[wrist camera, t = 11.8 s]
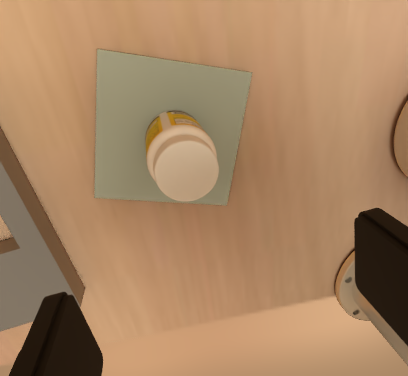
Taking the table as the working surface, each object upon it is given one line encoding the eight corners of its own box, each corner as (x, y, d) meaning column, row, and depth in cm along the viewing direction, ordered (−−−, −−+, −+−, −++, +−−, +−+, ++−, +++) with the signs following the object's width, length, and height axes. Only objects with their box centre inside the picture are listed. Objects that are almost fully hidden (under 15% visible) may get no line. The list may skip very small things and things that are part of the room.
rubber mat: (250, 72, 26) (252, 72, 26) (225, 203, 31) (226, 205, 30) (97, 48, 24) (97, 48, 23) (95, 196, 28) (94, 198, 28)
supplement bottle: (159, 172, 28) (165, 219, 20) (135, 122, 26) (132, 153, 18) (209, 151, 28) (235, 190, 20) (190, 100, 26) (210, 121, 18)
